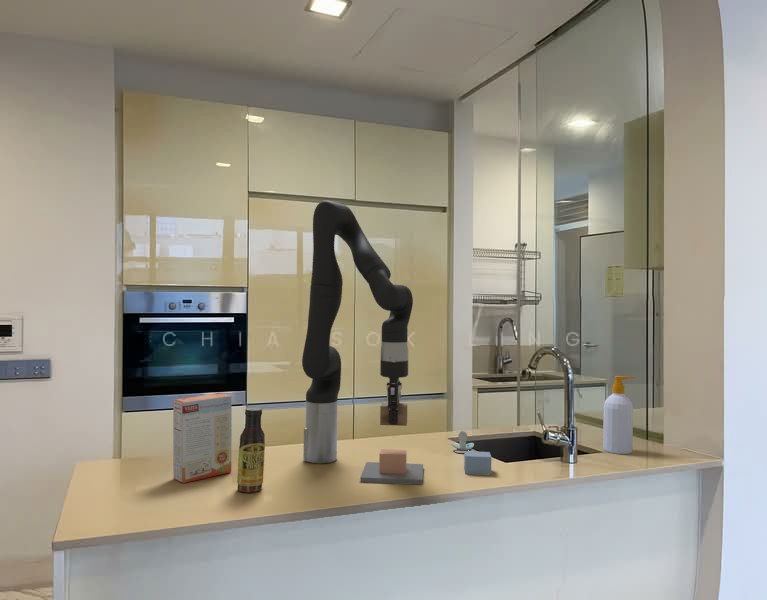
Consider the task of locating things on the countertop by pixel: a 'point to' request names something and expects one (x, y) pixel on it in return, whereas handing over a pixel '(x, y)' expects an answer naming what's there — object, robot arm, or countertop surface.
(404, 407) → the walnut block
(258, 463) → the sauce bottle
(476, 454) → the slate block
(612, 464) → the countertop surface
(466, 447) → the pacifier
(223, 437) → the cracker box
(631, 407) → the soap bottle
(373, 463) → the baseplate
